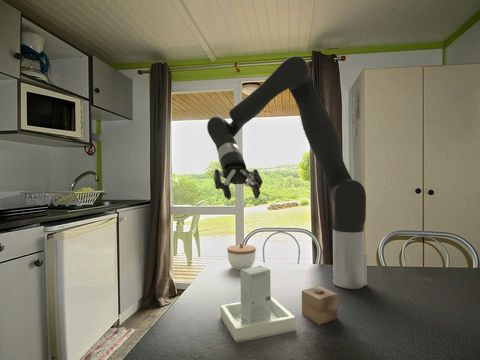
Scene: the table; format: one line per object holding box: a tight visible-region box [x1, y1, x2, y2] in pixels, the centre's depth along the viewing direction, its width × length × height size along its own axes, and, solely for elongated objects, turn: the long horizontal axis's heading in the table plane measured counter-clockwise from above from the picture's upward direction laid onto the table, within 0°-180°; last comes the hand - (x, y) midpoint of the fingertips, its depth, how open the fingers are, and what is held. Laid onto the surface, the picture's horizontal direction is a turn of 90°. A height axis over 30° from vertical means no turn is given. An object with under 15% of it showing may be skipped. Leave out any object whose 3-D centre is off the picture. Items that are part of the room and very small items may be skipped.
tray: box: [219, 296, 297, 344], centre depth 69 cm, size 14×12×3 cm
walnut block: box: [301, 285, 339, 325], centre depth 72 cm, size 6×6×6 cm
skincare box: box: [239, 265, 272, 324], centre depth 69 cm, size 6×4×12 cm
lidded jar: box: [226, 242, 257, 272], centre depth 111 cm, size 11×11×9 cm
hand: (243, 197), depth 85 cm, fingers open, 8 cm apart
